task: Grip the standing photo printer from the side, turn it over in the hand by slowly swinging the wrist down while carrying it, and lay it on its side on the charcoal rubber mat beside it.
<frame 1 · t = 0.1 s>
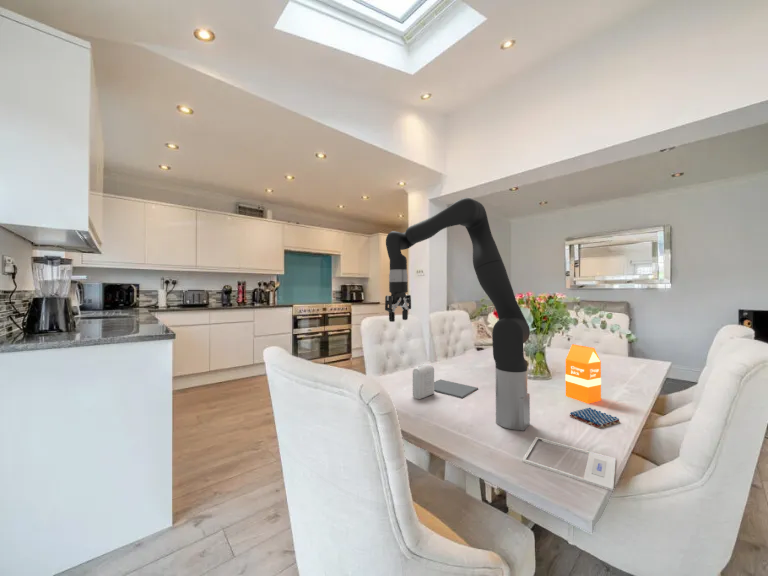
hand: (398, 320, 127), 29 cm above the table, tool pointing down, fingers open, 8 cm apart
charcoal mat: (450, 388, 130), on the table
photo printer: (423, 396, 123), on the table
orange juice: (583, 398, 119), on the table
woven mat: (593, 421, 100), on the table
photo frame: (569, 463, 76), on the table
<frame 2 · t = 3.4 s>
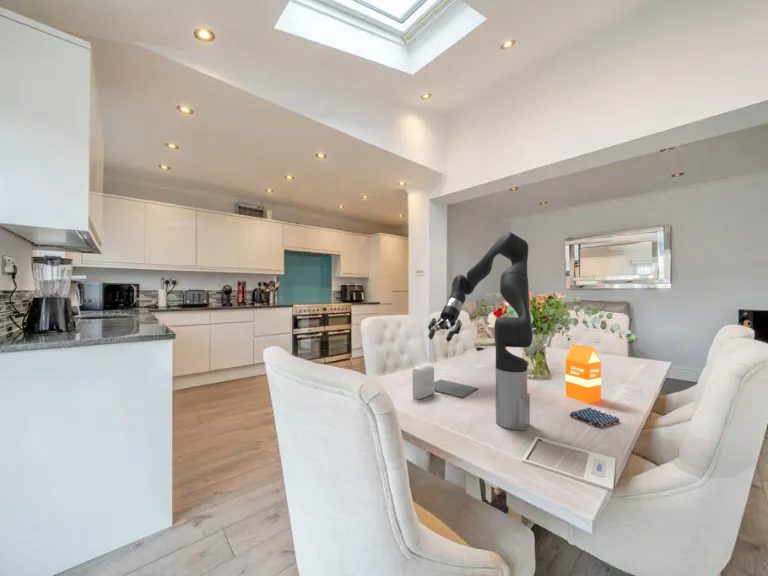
hand: (438, 339, 131), 21 cm above the table, tool tilted 45°, fingers open, 8 cm apart
nothing on the table moved.
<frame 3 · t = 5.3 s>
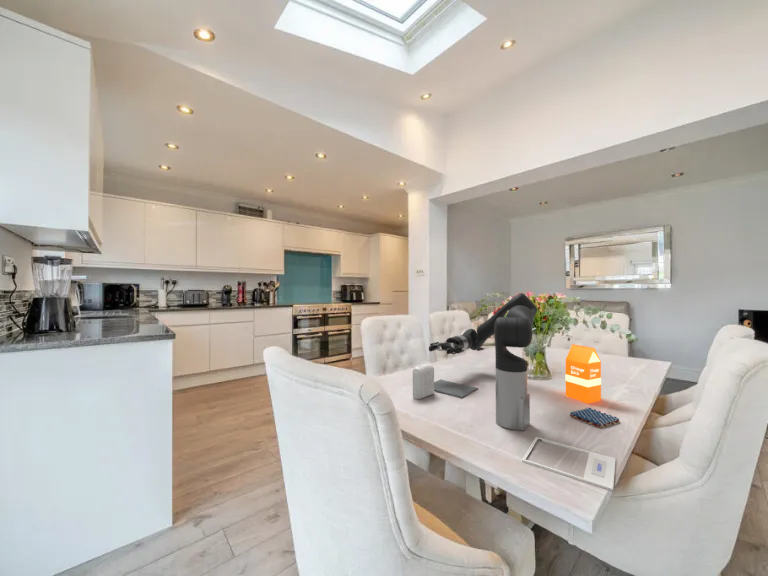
hand: (438, 350, 131), 16 cm above the table, tool horizontal, fingers open, 8 cm apart
nothing on the table moved.
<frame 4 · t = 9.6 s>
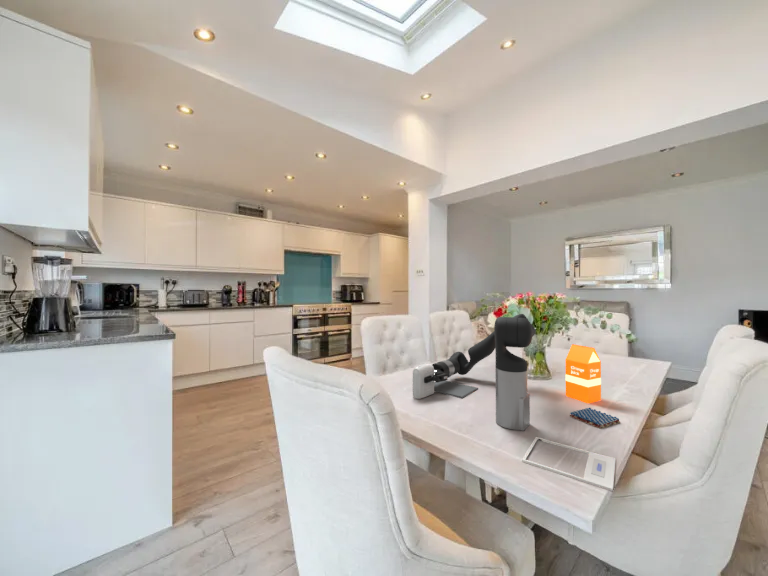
hand: (419, 379, 121), 7 cm above the table, tool horizontal, fingers closed on photo printer, 4 cm apart
photo printer: (423, 396, 123), on the table, touching gripper
everything else where it was.
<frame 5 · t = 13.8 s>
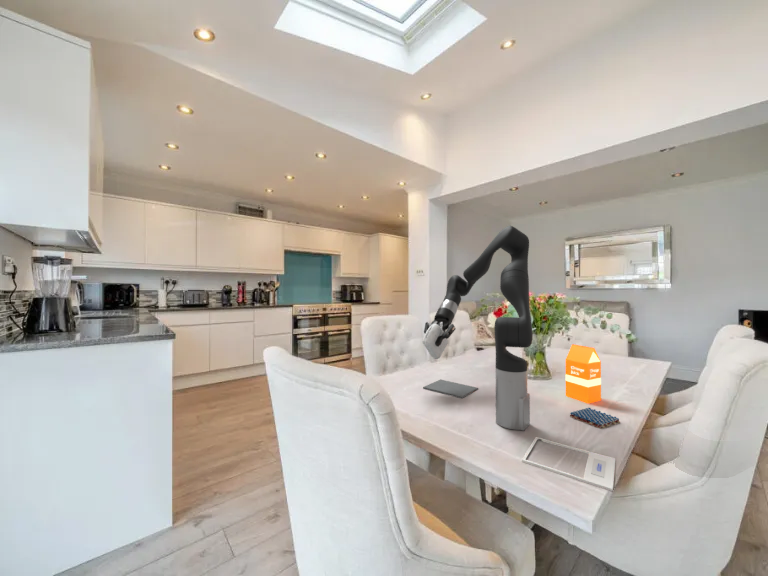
hand: (431, 344, 125), 20 cm above the table, tool tilted 45°, fingers closed on photo printer, 4 cm apart
photo printer: (440, 349, 130), point 17 cm above the table, touching gripper
everything else where it was.
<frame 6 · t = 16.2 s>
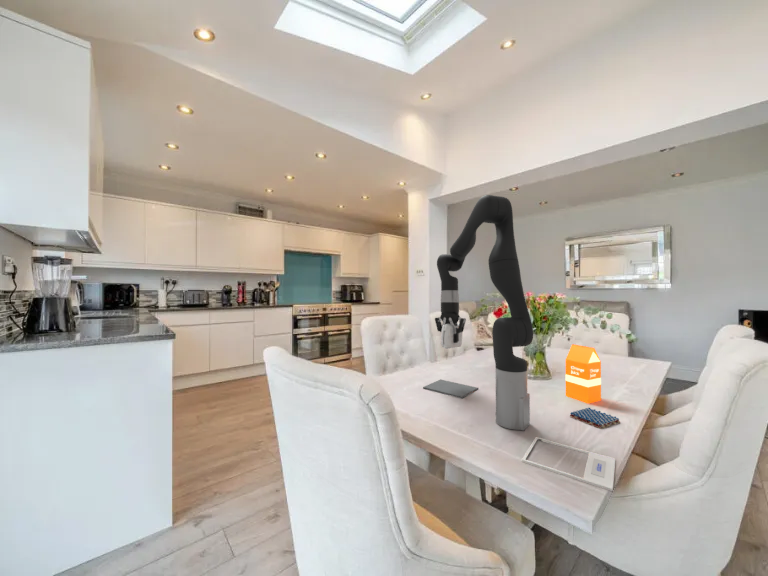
hand: (450, 342, 130), 20 cm above the table, tool pointing down, fingers closed on photo printer, 4 cm apart
photo printer: (458, 334, 135), point 22 cm above the table, touching gripper
everything else where it was.
when the fingers open (4 cm above the table, at t = 21.4 s): photo printer moves 1 cm, resting on charcoal mat.
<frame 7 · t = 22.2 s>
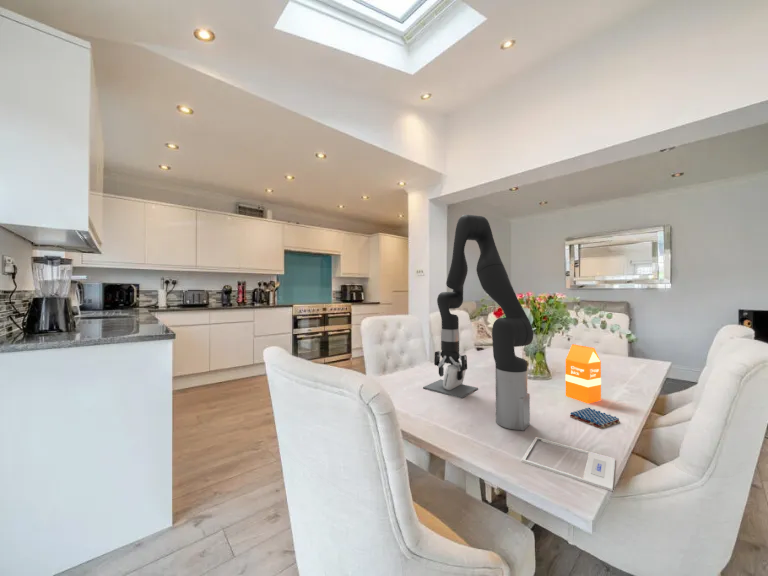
hand: (450, 377, 130), 5 cm above the table, tool pointing down, fingers open, 8 cm apart
photo printer: (461, 372, 135), point 6 cm above the table, touching charcoal mat, gripper
everything else where it was.
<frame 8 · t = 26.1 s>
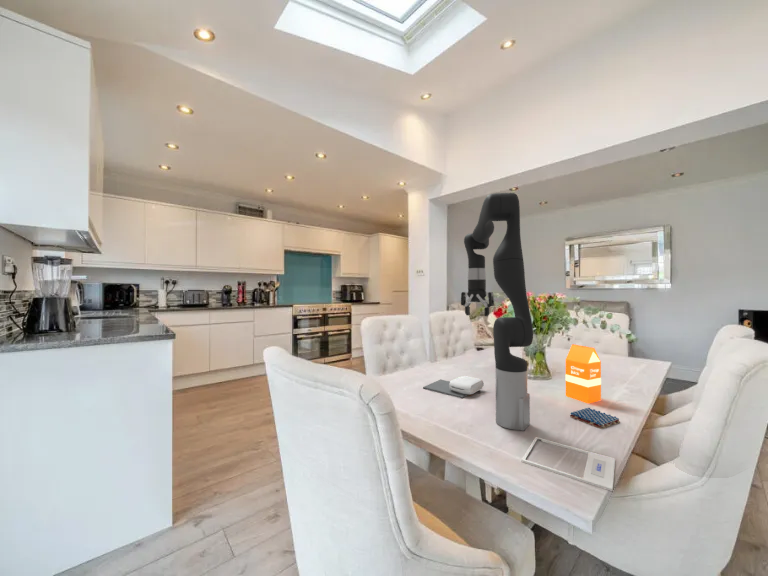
hand: (476, 315, 136), 30 cm above the table, tool pointing down, fingers open, 8 cm apart
photo printer: (472, 381, 131), point 3 cm above the table, touching charcoal mat
everything else where it was.
at the end: photo printer tilted 90°; photo printer inside the target area (9.4 cm from its centre), point 2.7 cm above the table; the gripper is holding nothing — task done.
